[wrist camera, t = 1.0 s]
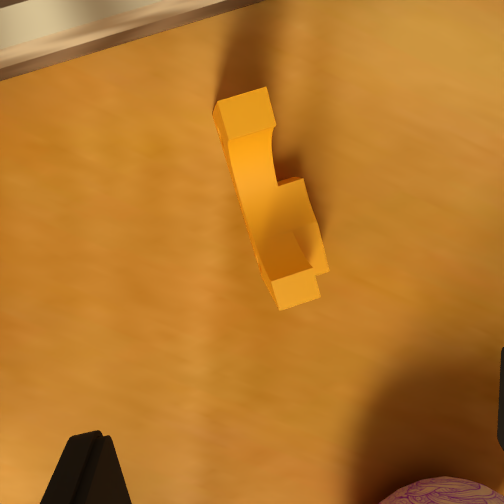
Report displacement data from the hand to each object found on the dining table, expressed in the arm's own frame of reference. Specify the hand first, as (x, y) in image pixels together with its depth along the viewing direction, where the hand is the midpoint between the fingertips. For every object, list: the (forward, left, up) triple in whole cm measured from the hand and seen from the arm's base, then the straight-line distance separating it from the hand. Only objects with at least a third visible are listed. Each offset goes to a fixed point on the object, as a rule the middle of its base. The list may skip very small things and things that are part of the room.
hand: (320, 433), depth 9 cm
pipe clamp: (-3, -3, -20) cm, 20 cm away
